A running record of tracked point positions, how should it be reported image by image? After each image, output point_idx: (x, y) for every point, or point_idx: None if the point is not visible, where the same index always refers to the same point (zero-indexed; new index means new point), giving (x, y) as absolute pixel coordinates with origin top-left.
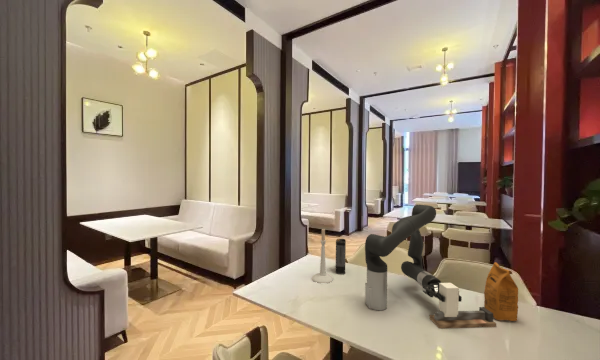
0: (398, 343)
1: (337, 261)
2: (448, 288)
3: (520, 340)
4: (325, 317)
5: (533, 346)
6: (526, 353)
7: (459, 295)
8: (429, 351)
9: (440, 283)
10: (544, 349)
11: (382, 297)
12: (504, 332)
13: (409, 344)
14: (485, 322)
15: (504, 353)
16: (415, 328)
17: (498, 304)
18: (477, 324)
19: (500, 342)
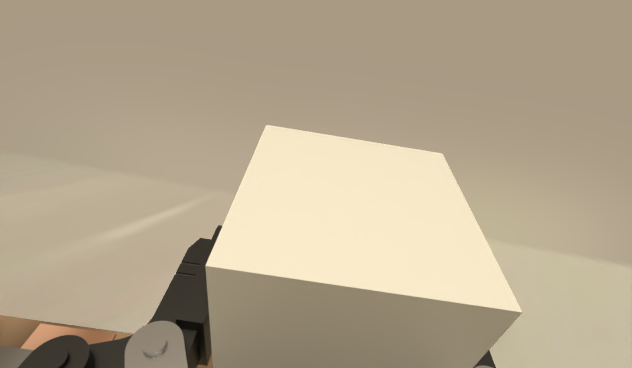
0: (629, 310)
1: None
2: (416, 153)
3: (50, 221)
4: None
5: (59, 192)
6: (148, 181)
7: (210, 243)
8: (500, 252)
9: (499, 282)
10: (45, 177)
11: None
12: (25, 275)
13: (579, 296)
14: (39, 329)
15: (229, 196)
16: None
17: None
18: (119, 335)
19: (165, 231)
